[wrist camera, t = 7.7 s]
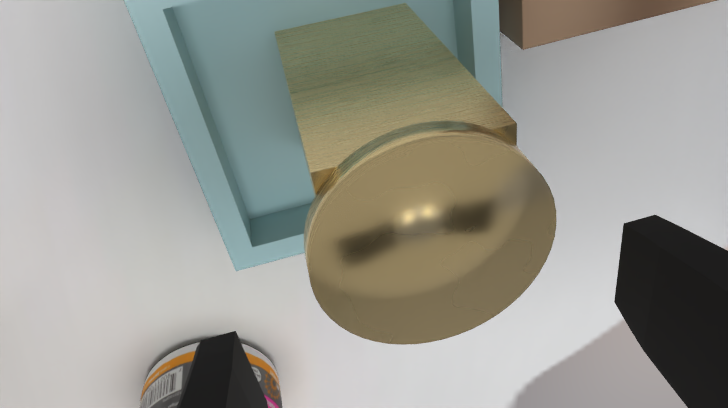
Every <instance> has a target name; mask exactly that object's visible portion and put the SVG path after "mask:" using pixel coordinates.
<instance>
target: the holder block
mask: <svg viewBox="0 0 728 408" xmlns="http://www.w3.org/2000/svg"><path fill="white" fill-rule="evenodd" d="M498 1H499V29H500V31H501V32H502V33H503V34H504V35H506V36H507V37H508V38H509V39H510V40H512V41H513V42H514V43H515V44H516V45H518V46H519V47H520V48H521V49H523V50H524V49H528V48H532V47H536V46H540V45H544V44H548V43H552V42H555V41H559V40H563V39H567V38H571V37H575V36H579V35H583V34H587V33H591V32H595V31H599V30H603V29H607V28H610V27H614V26H618V25H622V24H626V23H630V22H634V21H638V20H642V19H646V18H650V17H654V16H658V15H662V14H665V13H669V12H673V11H677V10H681V9H685V8H689V7H693V6H697V5H701V4H705V3H709V2H713V1H717V0H498Z"/></svg>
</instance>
